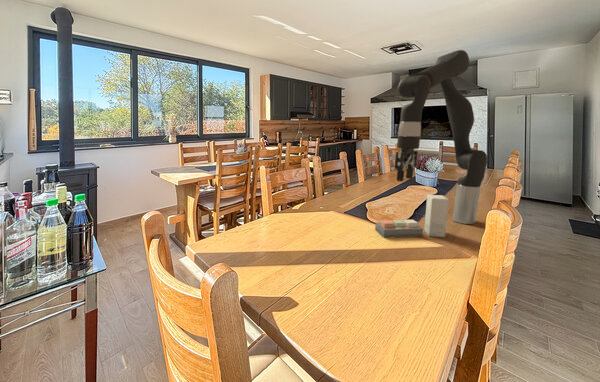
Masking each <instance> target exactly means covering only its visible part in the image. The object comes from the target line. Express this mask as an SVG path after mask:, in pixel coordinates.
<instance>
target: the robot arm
mask: <svg viewBox="0 0 600 382" xmlns="http://www.w3.org/2000/svg"><path fill="white" fill-rule="evenodd" d="M469 67H470V57H469V55H468V53H467V52H466V50H464V49H459V50H458V49H457V50H456V51H454V50H453V51H452V52H449V53H446V54H444V55H441V56H439V57H437V59H436V61H435V64H434V65H431V66H430V67H429V66H428V67H427V68H425V69H423V70H422V71H420V72H417V73H413V74H410V75H407V76H404V77H403V78H402V79H401V80H400V81H399V83H398V85H397V93H398V94H399V96H400V97H402V98H403V99H410V98H413V100H412V102H410V103H408V104H404V105H403V106H402V107H401V109H400V118H399V119H400V120H399V125H398V131H397V133H398V134H397V142H396V144H397V145H396V147H397V149H400V151H396V154H395V161H394V169H395V170H397V173H396V181H398V182H403V181H404V178H406V179H410V180H411V179H412V178H413V176H414V169H415V168H416V167H417V164H418V163H417V162H418V152H419V151H418V149H419V148H420V142H421V141H420V140H421V136H422V135H421V132H422V118H423V111H424V107H425V104H426V101H427V98H428V96H429V93H430V92H431V89H432V88H434V87H435V86H438V85H439V84H440V87H441V90H442V94H443V97H444V102H445V105H446V106H445V107H446V111H447V115H448V116H447V117H448V120H449V121H448V122H449V125H450V129H451V133H452V139H453V144H454V145H453V146H454V152H455V153H454V155H455V161H456V164H457V166H458V167H459V168H460V169H462V170H466V175H464V176H460V177H459V178H458V179H457V181H456V182H457V184H456V191H455V199H454V200H455V201H454V205H453V214H452V221H454V222H456V223H460V224H465V225H473V224H475V223H476V221H477V213H478V209H479V200H480V199H479V198H480V193H481V186H482V182H483V181H484V178H485V173H486V170H487V169H486V168H487V164H488V155H487V153H486V152H485V151H484V150H480V149H472V147H471V143H470V134H471V132H472V129H473V126H474V123H475V115H474V109H473V106H472V105H473V104H472V103H471V102H470V100H469V99H468V98H467V97H466V96H465V95H463V94H462V93H461V92H460V91H459V90H458V88H456V86H455V84H454V81H453V79H452V78H453V77H457V76H459V75H462V74H464V73H466V72H467V71H468V69H469ZM405 170H406V176H405Z"/></svg>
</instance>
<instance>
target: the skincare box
mask: <svg viewBox="0 0 600 382" xmlns="http://www.w3.org/2000/svg"><path fill="white" fill-rule="evenodd" d="M449 202H450V199H449V198H448V197H446V196H444V195H441V194H439V195H438V194H427V196H426V205H425V216H424V217H425V219H424V228H423V230H424V231H425V233H426V234H427V236H428V237H436V238H446V232H447V231H446V230H447V221H448V212H449Z"/></svg>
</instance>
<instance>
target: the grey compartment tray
mask: <svg viewBox="0 0 600 382" xmlns="http://www.w3.org/2000/svg"><path fill="white" fill-rule="evenodd" d="M380 222H381V221H379V222H377V221H376V222H375V229H374V230H375V231H376V232H377V233H378V234H379V235H380V237H382V238H383V237H384V238H383V239H388V237H389V239H390V237H395V238H418V237H423V233H424V231H423V230H424V228H422V227H421V226H419V225H418V226H417V227H407V226H406V227H397V228H396V227H394V228H383V227H382V226H381V225H380Z"/></svg>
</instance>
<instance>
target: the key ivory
mask: <svg viewBox="0 0 600 382" xmlns="http://www.w3.org/2000/svg"><path fill="white" fill-rule="evenodd" d="M403 221H404V222H405V223H406V226H407V227H417V226H419V225H418V223H419V222H418V221H416V220H414V219H403Z"/></svg>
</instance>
